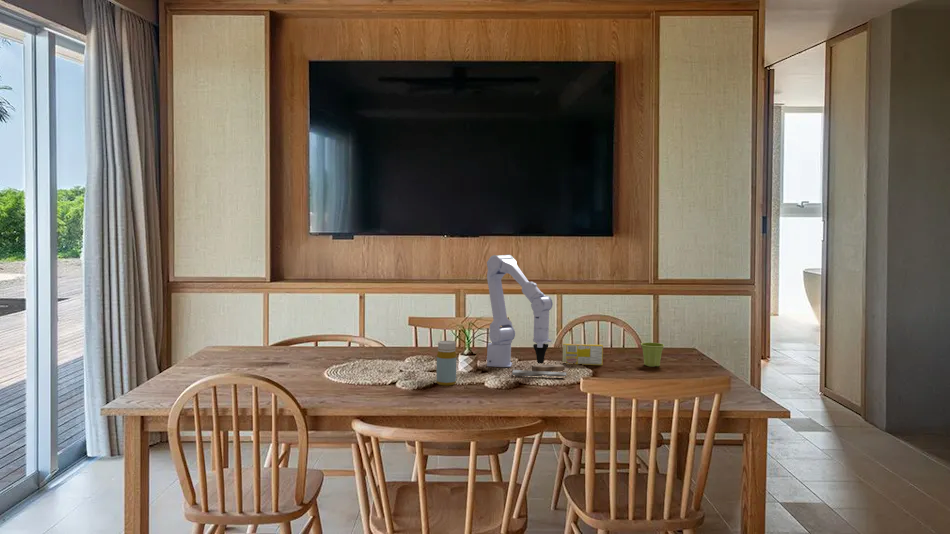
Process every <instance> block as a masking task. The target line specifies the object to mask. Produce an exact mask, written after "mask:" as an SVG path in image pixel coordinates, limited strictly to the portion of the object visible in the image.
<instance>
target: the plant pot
mask: <svg viewBox="0 0 950 534" xmlns="http://www.w3.org/2000/svg"><path fill="white" fill-rule="evenodd" d="M640 345H641V348H642V355H643V365H644V366H647V367H660V365H661V359H662V352H663V350H664V347H665V344H664V343H660V342H659V343H658V342H641V343H640Z"/></svg>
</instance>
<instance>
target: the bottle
mask: <svg viewBox="0 0 950 534" xmlns="http://www.w3.org/2000/svg"><path fill="white" fill-rule="evenodd" d="M456 343H457V342H456V341H453V340H440V341H438V342H437V353H436V378H435V379H436V383H437V385H438V386H442V387H443V386H444V387H445V386H446V387H447V386H448V387H449V386H450V387H451V386H454V385H455V384H456V383H457V359H458V358H457V354H456V353H457V352H456Z"/></svg>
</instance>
